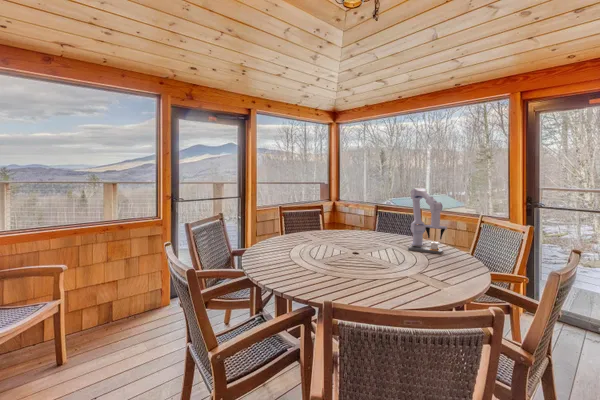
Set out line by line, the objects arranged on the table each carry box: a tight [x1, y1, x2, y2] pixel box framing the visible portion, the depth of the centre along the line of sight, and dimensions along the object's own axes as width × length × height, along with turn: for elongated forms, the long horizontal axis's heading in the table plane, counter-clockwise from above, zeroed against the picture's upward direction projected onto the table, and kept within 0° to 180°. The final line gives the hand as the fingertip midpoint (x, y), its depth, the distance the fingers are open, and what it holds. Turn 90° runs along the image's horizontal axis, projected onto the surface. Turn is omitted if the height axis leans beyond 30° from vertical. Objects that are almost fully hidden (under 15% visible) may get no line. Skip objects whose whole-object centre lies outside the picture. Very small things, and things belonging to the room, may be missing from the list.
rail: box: [407, 244, 444, 255], centre depth 217 cm, size 8×22×2 cm, turn 60°
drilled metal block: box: [430, 241, 439, 250], centre depth 214 cm, size 4×4×7 cm
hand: (434, 238), depth 213 cm, fingers open, 7 cm apart
